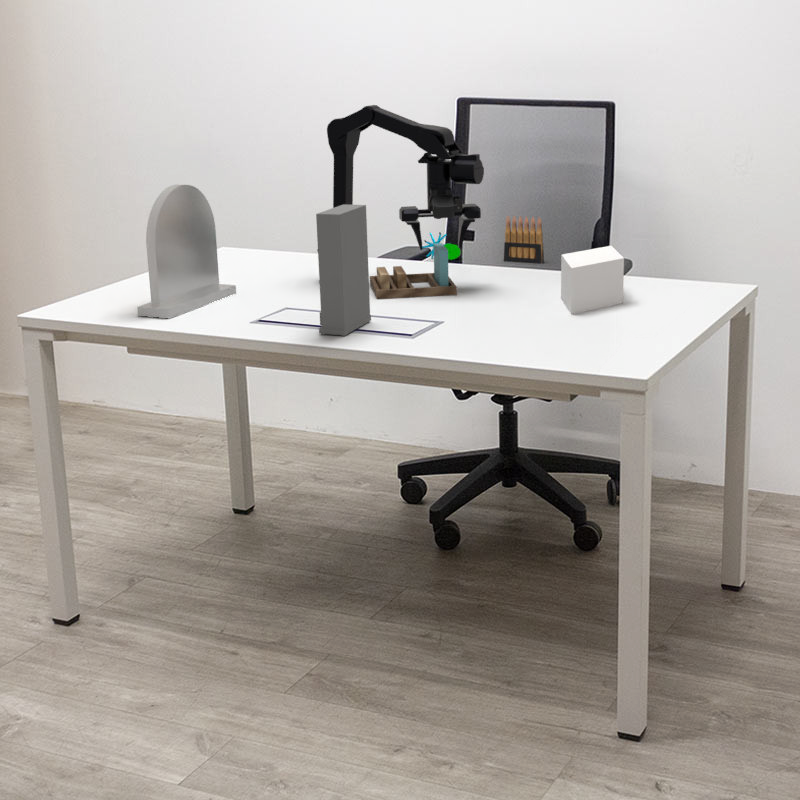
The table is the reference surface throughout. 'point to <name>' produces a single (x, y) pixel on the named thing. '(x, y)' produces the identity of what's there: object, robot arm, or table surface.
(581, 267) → the white rectangular block
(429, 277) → the rack
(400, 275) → the oak offcut
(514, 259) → the ammunition clip
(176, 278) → the award
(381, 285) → the pine offcut
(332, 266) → the tall grey pillar
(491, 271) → the table surface
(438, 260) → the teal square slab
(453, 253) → the multicoloured piece
